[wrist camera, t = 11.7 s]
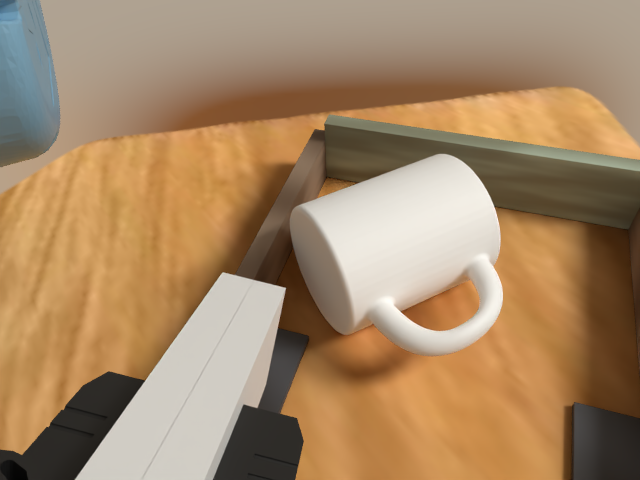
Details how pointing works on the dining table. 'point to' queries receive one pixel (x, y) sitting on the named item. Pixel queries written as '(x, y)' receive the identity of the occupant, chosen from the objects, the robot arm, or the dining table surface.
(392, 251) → the mug
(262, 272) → the wooden tray
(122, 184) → the dining table surface
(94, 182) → the dining table surface
